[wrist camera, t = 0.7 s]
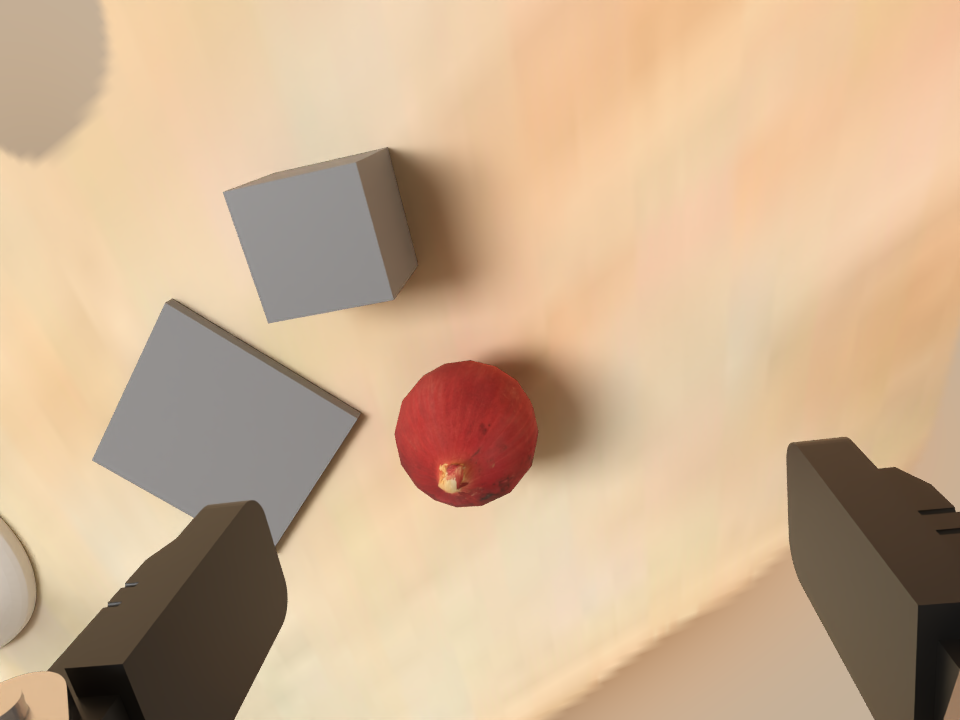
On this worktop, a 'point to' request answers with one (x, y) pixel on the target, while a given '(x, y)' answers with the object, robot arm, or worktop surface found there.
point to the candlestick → (14, 586)
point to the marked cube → (324, 235)
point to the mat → (221, 423)
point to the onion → (466, 433)
